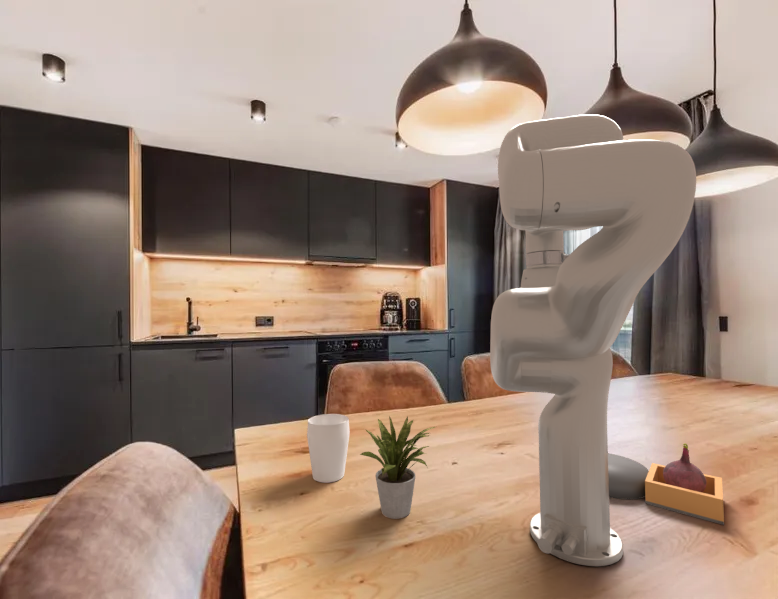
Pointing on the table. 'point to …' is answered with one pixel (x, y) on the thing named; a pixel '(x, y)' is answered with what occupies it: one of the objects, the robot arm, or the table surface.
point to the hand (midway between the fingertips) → (546, 341)
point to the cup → (328, 446)
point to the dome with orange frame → (664, 489)
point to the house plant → (396, 468)
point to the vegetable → (684, 473)
